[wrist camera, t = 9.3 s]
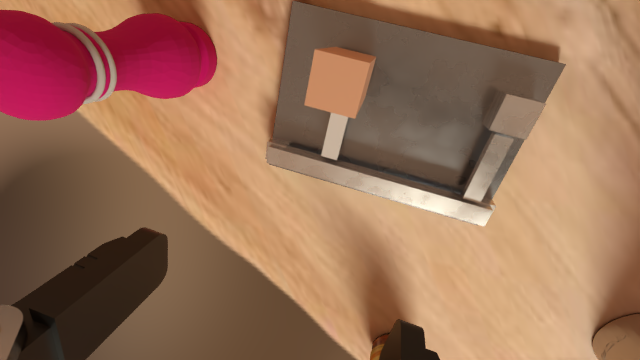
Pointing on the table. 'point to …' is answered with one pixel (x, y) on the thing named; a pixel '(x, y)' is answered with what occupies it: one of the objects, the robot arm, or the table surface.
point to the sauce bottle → (378, 347)
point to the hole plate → (412, 113)
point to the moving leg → (338, 90)
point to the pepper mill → (96, 62)
